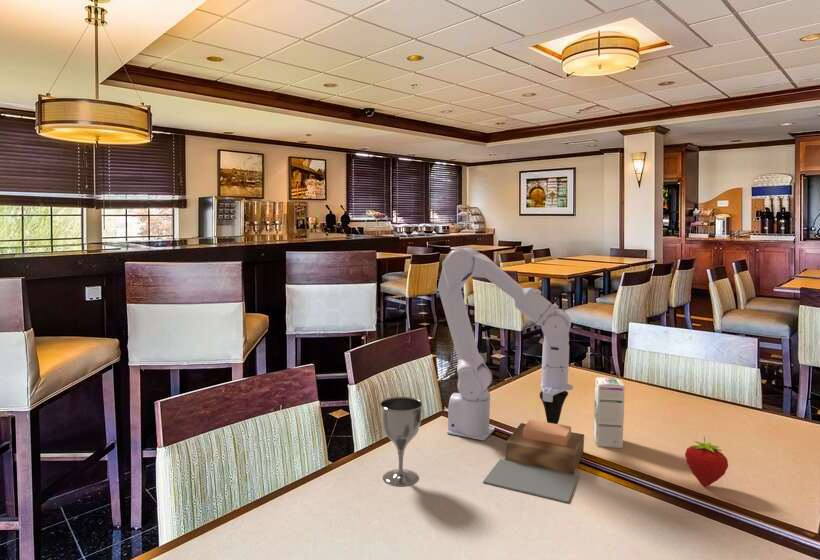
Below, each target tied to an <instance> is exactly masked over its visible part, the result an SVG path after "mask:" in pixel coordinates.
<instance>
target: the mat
mask: <svg viewBox="0 0 820 560" xmlns="http://www.w3.org/2000/svg"><path fill="white" fill-rule="evenodd" d="M578 479H579V475H577V474H574V475H573V474H568V473H564V472H559V471H554V470H550V469H545V468H540V467H536V466H531V465H526V464H522V463H517V462H512V461H508V460H505V459H502V458H499V460H497V462H496V464H495V465H494V467H492V469H491V470H490V472H489V473H488V474H487V476H486V477H485V478H484V480H483V481H482V483H483V484H487V485H491V486H493V487H494V486H495V487H500V488H503V489H508V490H511V491H512V490H513V491H516V492H520V493H524V494H529V495H533V496H536V497H537V496H538V497H541V498H543V499H544V498H545V499H549V500H552V501H553V500H554V501H557V502H561V503H565V504H569V503H570V500H571V497H572V495H573V492H574V489H575V487H576V485H577V483H578Z"/></svg>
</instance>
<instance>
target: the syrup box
mask: <svg viewBox="0 0 820 560" xmlns="http://www.w3.org/2000/svg"><path fill="white" fill-rule="evenodd" d="M594 381H595V383H594V387H595V388H594V407H593V408H594V411H593V439H594V442H595V445H596V446H597V447H603V448H604V447H605V448H614V449H615V448H617V449H622V448H623V442H624V441H623V440H624V439H623V438H624V421H625V419H624V417H625V412H624V411H625V389H626V387H625V385H624V383H623V381H622V380H621V378H616V377H605V376H604V377H595V379H594Z"/></svg>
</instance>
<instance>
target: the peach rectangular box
mask: <svg viewBox="0 0 820 560" xmlns="http://www.w3.org/2000/svg"><path fill="white" fill-rule="evenodd" d="M525 424H526V425H525V427H524V428H523V438H528V439H533V440H538V441H543V442H549V443H554V444H559V445H564V446H566V444H567V442H568V440H569V438H570V436H571V432H572V426H570V425H564V424H559V423H558V424H553V423H548V422H547V421H541V420H535V419H531V418H530V419H529V420H528V421H527V423H525Z"/></svg>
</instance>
